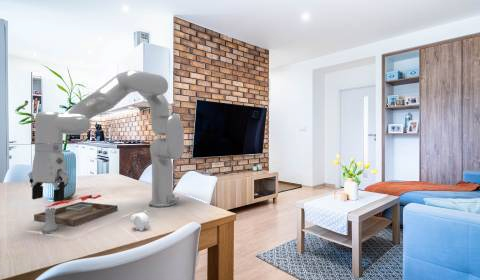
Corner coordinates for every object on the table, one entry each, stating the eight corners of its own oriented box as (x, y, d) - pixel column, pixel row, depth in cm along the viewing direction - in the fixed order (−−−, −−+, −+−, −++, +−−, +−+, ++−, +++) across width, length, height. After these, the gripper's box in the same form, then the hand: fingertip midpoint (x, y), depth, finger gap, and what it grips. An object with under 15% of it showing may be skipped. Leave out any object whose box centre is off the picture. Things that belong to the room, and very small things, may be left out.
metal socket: (92, 210, 109) (92, 205, 109) (78, 215, 102) (78, 209, 102) (80, 209, 111) (80, 203, 111) (65, 214, 104) (65, 208, 104)
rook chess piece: (47, 230, 89) (47, 207, 89) (61, 229, 90) (61, 206, 89) (38, 234, 85) (38, 210, 85) (52, 234, 85) (52, 210, 85)
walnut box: (117, 212, 110) (117, 205, 110) (74, 228, 90) (74, 220, 90) (81, 208, 115) (81, 201, 115) (34, 222, 96) (34, 214, 96)
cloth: (46, 211, 113) (46, 206, 113) (40, 205, 122) (40, 200, 122) (109, 200, 132) (109, 196, 131) (100, 196, 141) (100, 192, 141)
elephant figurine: (141, 224, 96) (141, 208, 95) (156, 228, 92) (156, 211, 91) (124, 229, 90) (124, 212, 90) (140, 234, 86) (140, 216, 86)
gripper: (78, 149, 88) (77, 199, 88) (41, 147, 93) (40, 195, 93) (57, 150, 80) (56, 204, 80) (18, 148, 86) (17, 199, 86)
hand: (48, 199), depth 87 cm, fingers open, 9 cm apart
